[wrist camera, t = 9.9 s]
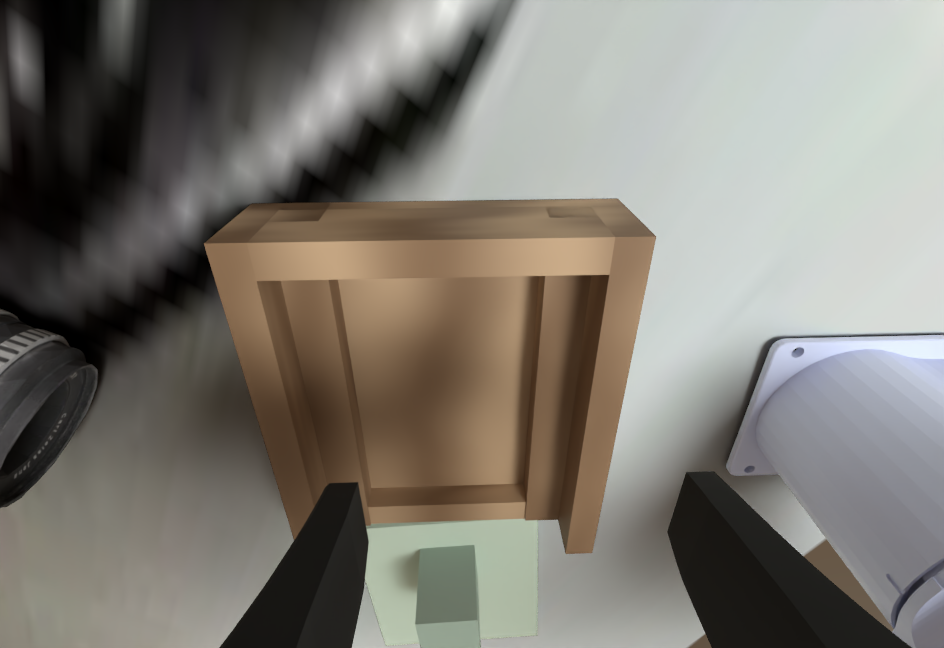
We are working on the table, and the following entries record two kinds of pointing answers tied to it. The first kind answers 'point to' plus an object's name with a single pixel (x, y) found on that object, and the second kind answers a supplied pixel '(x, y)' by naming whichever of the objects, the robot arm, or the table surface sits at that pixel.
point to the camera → (37, 402)
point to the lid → (453, 581)
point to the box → (438, 352)
